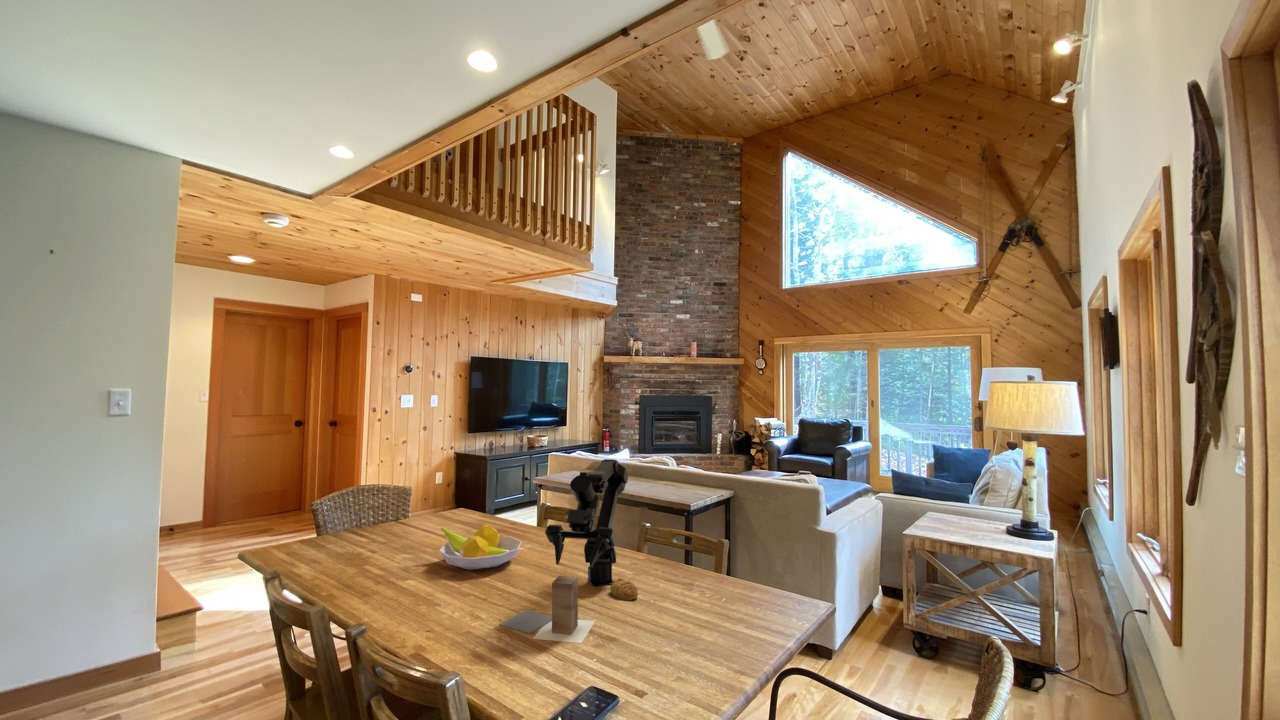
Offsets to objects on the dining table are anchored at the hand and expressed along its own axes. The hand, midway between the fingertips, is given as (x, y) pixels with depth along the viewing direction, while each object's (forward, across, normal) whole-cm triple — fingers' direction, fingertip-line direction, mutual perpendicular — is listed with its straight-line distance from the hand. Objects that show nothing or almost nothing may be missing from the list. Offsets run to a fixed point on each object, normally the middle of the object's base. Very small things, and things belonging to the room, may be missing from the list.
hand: (573, 565), depth 142 cm
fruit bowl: (-15, -46, +35) cm, 59 cm away
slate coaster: (+14, -10, +5) cm, 18 cm away
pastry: (-3, +10, +22) cm, 25 cm away
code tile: (+15, 0, +4) cm, 16 cm away
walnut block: (+15, 0, +3) cm, 15 cm away
